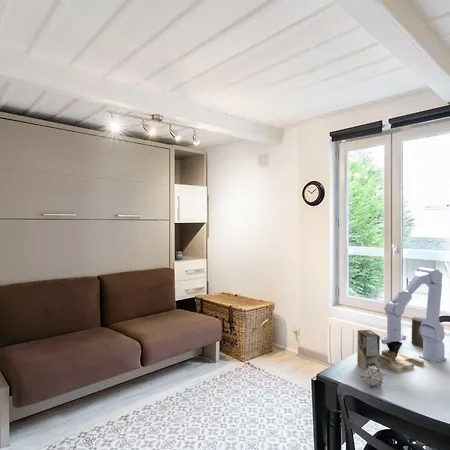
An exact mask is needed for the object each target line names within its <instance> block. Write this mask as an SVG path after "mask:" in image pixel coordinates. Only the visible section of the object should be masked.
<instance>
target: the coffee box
mask: <svg viewBox="0 0 450 450" xmlns="http://www.w3.org/2000/svg"><path fill="white" fill-rule="evenodd" d="M380 341H381V338H380V335H378V334H377V333H376V332H374V331H372V330H370V329H360V330H357V366H358V367H359V368H360V369H362V370H363V371H364V372H365V369H366V368H367V367H371V366H375V364H376V367H377V368H378V369H379V370H380V365H379V354H380V353H381V352H380ZM366 366H367V367H366Z"/></svg>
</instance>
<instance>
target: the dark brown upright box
mask: <svg viewBox="0 0 450 450" xmlns="http://www.w3.org/2000/svg"><path fill="white" fill-rule="evenodd" d="M425 319H426V317H422V316H421V317H419V316H414V317H412V318H411V344H412V345H414V346H417V347H420V348H423V338H422V336H421V335H420V332H419V329H420V326H421V323H422V321H423V320H425Z"/></svg>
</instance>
